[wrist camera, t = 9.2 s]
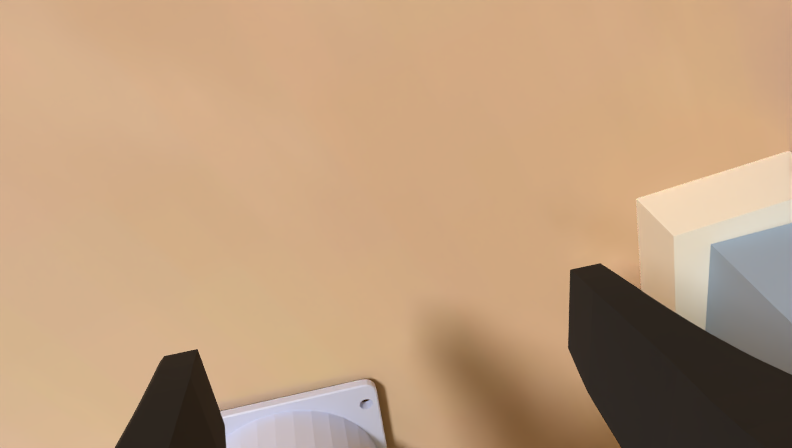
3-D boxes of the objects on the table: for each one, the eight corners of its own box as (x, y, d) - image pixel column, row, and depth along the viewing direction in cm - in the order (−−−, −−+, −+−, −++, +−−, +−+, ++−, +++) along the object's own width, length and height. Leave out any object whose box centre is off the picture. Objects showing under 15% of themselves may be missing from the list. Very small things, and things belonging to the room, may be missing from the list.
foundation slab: (774, 271, 30) (824, 315, 27) (639, 314, 30) (676, 363, 27) (782, 147, 27) (840, 183, 24) (631, 194, 26) (673, 236, 24)
